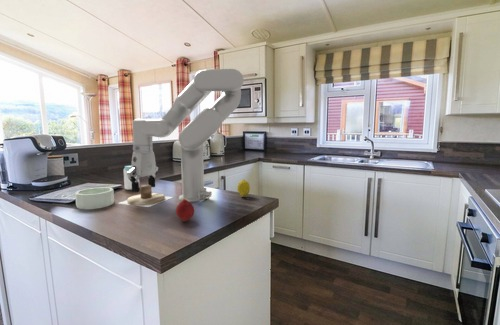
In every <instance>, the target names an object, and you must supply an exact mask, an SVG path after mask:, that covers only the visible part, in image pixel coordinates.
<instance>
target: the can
mask: <svg viewBox="0 0 500 325" xmlns="http://www.w3.org/2000/svg"><path fill="white" fill-rule="evenodd" d="M130 169H131V165H125V166H124V168H123V182H124V190H126V191H129V190H131V191H132V182H130V180H129V178H128V175H127V172H128V171H129V170H130ZM135 179H136V177H135ZM138 182H139V183H140V179H139V180H138ZM140 186H141V185H140V184H139V188H140Z"/></svg>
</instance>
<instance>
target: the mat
mask: <svg viewBox="0 0 500 325" xmlns="http://www.w3.org/2000/svg"><path fill="white" fill-rule="evenodd" d="M172 198H174V196H166V195H165V199H164V200H163V201H161V202H158V203H154V204H148V205H133V206H134V207H135V206H136V207H144V208H151V207H152V206H155V205H157V204H161V203H163V202H165V201H167V200H170V199H172ZM118 204H119V205H127V206H132V205H131V204H128V203H127V199H126V200H123V201H120V202H117V205H118Z"/></svg>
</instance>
